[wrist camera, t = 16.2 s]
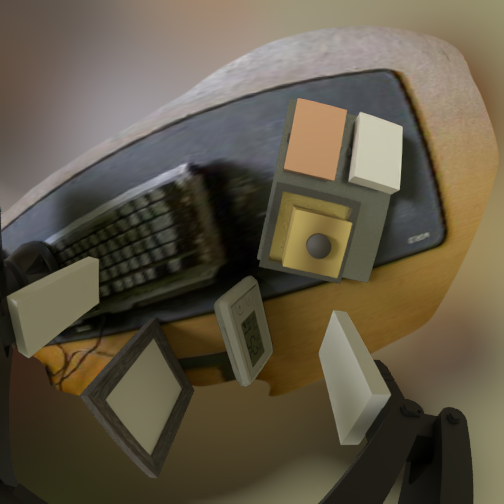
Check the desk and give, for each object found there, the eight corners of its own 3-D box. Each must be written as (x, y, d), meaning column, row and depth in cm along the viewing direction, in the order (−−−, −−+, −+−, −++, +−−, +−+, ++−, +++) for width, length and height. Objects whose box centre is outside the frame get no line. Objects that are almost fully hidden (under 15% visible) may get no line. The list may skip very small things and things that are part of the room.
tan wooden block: (281, 249, 36) (282, 269, 28) (292, 204, 35) (296, 210, 26) (325, 259, 36) (339, 281, 27) (336, 215, 35) (355, 224, 26)
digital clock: (272, 354, 43) (271, 390, 34) (225, 352, 44) (214, 387, 35) (273, 273, 40) (272, 297, 31) (220, 273, 40) (205, 296, 32)
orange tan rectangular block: (283, 170, 33) (283, 168, 31) (296, 104, 31) (297, 97, 29) (330, 181, 33) (334, 180, 30) (342, 115, 31) (346, 110, 28)
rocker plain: (348, 181, 31) (354, 176, 29) (355, 120, 32) (360, 112, 29) (391, 194, 31) (399, 190, 29) (395, 133, 31) (402, 126, 29)
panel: (257, 258, 39) (255, 265, 36) (289, 103, 34) (290, 95, 31) (362, 281, 39) (369, 289, 35) (395, 133, 33) (405, 129, 30)
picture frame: (194, 390, 46) (158, 478, 26) (185, 391, 46) (146, 476, 26) (156, 317, 43) (87, 395, 23) (146, 319, 44) (77, 395, 23)
